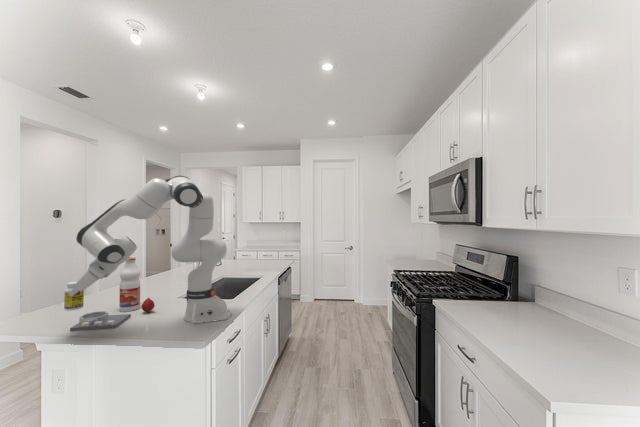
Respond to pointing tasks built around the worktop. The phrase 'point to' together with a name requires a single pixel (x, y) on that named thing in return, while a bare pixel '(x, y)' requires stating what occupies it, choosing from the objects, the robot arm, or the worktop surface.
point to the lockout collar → (93, 317)
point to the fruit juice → (129, 286)
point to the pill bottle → (73, 298)
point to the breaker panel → (102, 323)
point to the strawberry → (148, 305)
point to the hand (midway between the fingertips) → (72, 293)
